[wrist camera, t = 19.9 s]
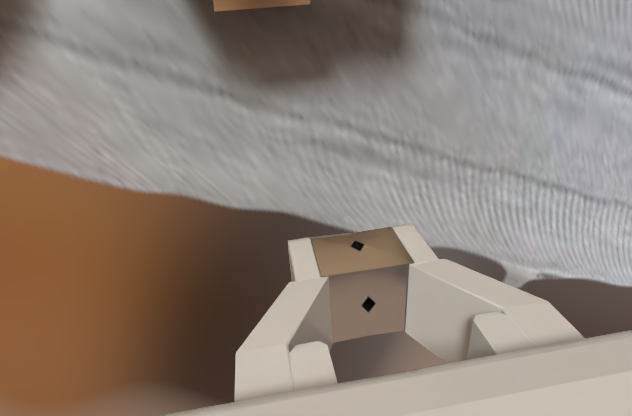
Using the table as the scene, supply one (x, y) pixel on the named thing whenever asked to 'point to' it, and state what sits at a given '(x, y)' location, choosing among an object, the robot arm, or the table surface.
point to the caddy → (254, 4)
